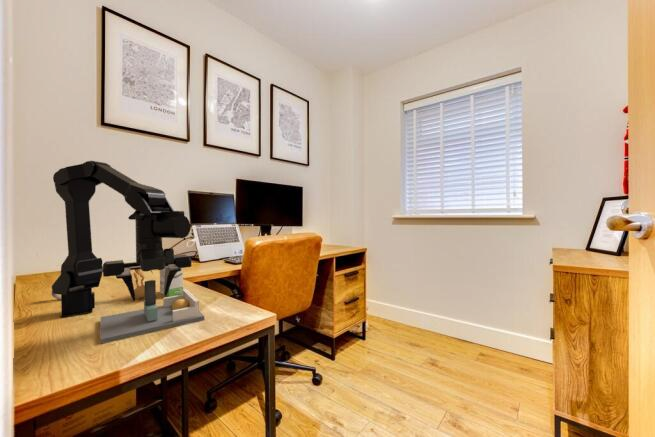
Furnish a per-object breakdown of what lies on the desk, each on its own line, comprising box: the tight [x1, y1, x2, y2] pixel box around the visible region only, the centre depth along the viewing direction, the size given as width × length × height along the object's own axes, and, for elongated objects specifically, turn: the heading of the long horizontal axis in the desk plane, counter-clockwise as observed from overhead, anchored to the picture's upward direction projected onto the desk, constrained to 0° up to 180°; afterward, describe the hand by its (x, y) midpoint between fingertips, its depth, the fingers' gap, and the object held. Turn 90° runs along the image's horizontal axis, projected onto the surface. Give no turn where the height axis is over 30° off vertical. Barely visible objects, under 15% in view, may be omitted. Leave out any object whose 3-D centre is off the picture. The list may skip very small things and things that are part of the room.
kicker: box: [143, 279, 158, 322], centre depth 72 cm, size 2×8×9 cm, turn 39°
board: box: [100, 305, 205, 344], centre depth 72 cm, size 21×16×1 cm
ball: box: [172, 299, 189, 310], centre depth 77 cm, size 4×4×4 cm
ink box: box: [159, 266, 184, 297], centre depth 96 cm, size 9×5×12 cm, turn 48°
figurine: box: [133, 269, 154, 299], centre depth 91 cm, size 8×6×12 cm
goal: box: [162, 288, 200, 322], centre depth 77 cm, size 6×14×4 cm, turn 39°
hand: (150, 297), depth 72 cm, fingers open, 7 cm apart
